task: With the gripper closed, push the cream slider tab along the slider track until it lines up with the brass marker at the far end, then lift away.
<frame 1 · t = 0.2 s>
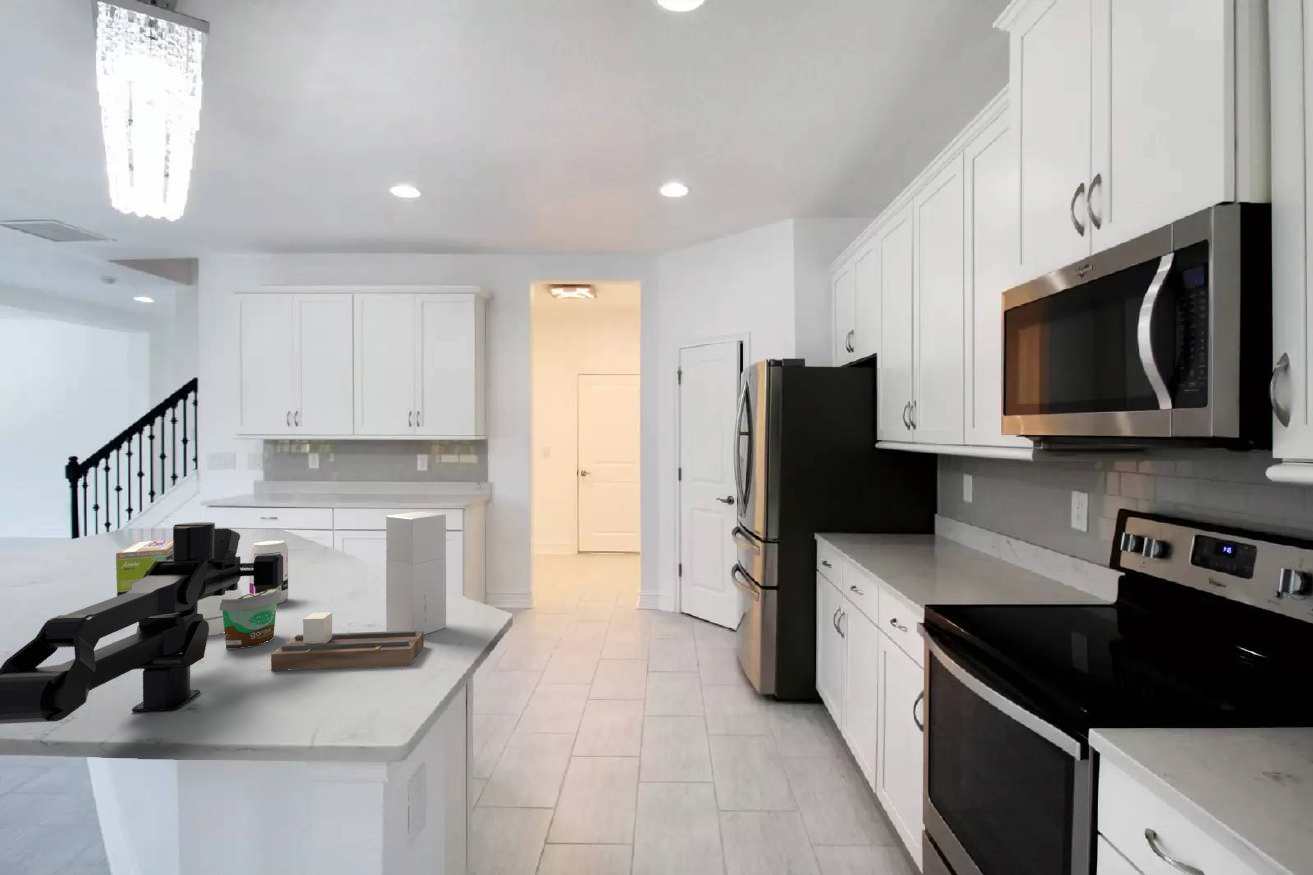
hand: (250, 564, 124), 16 cm above the counter, tool horizontal, fingers open, 9 cm apart
slider tab: (317, 628, 118), point 6 cm above the counter, slide at 6.0 cm
supplement can: (269, 602, 157), on the counter
slider track: (351, 658, 119), on the counter
tea box: (152, 604, 156), on the counter
food container: (258, 642, 128), on the counter
tall white carton: (416, 630, 136), on the counter
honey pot: (210, 628, 137), on the counter
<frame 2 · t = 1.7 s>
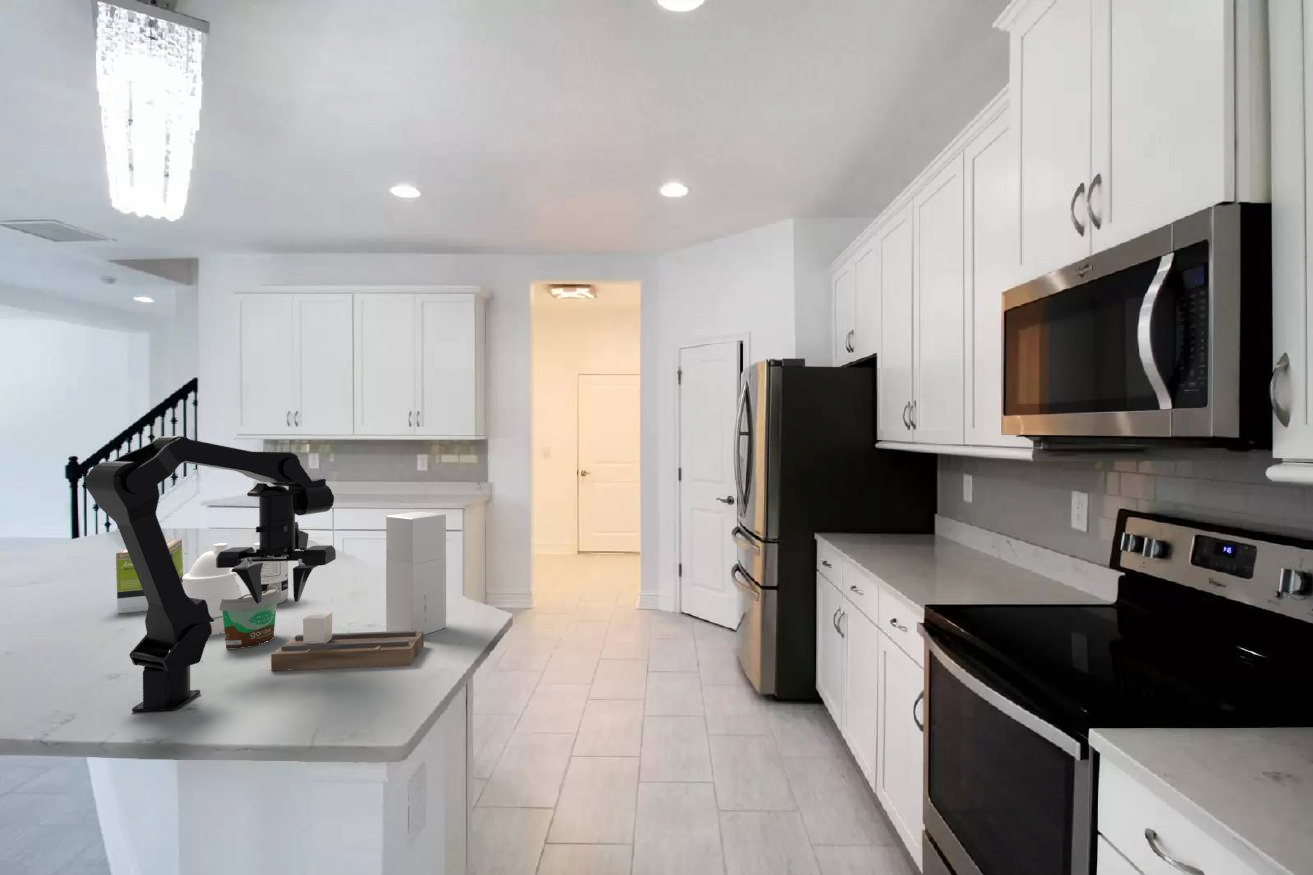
hand: (278, 602, 117), 11 cm above the counter, tool pointing down, fingers open, 6 cm apart
nothing on the counter moved.
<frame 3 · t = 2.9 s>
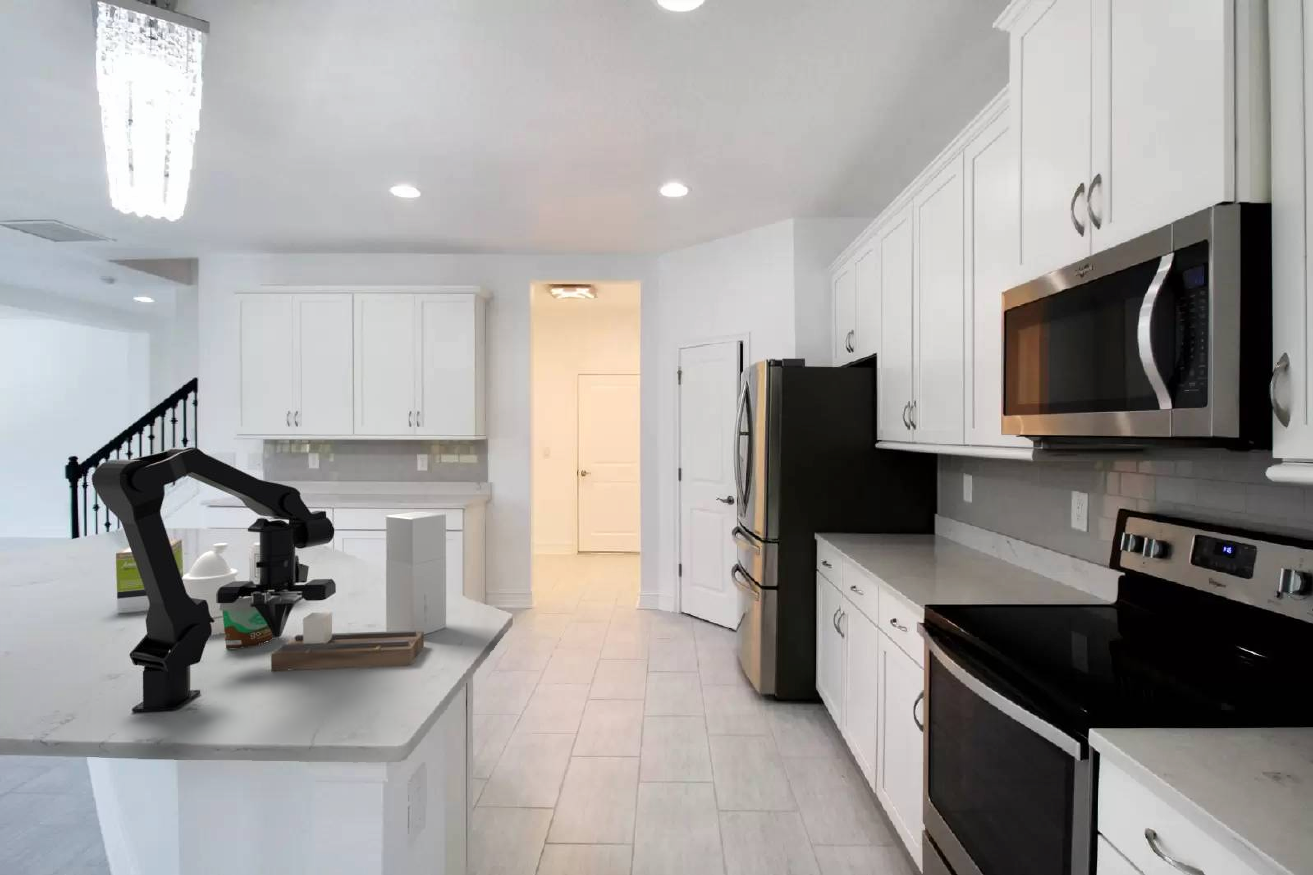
hand: (277, 636, 117), 5 cm above the counter, tool pointing down, fingers closed
nothing on the counter moved.
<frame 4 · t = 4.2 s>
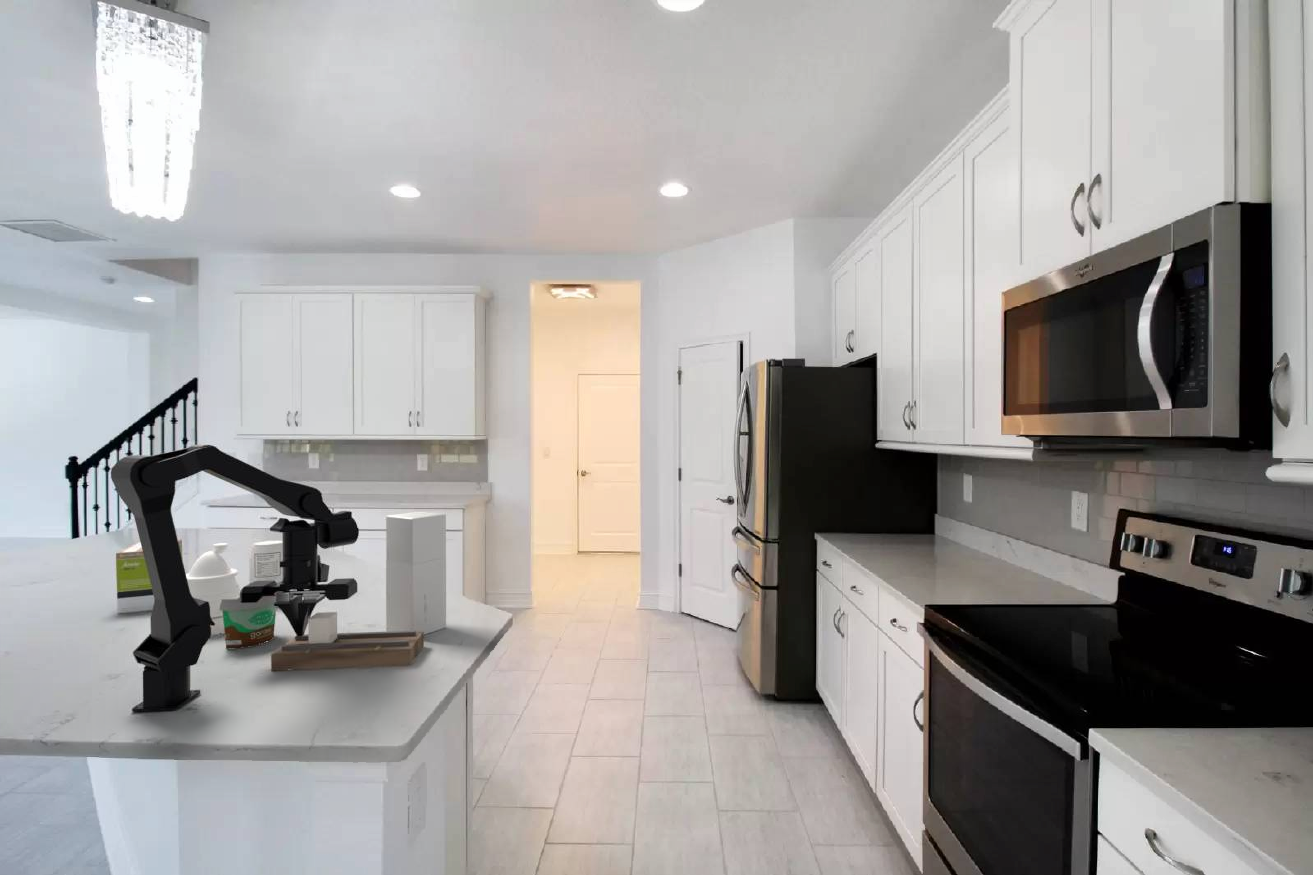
hand: (300, 635, 118), 5 cm above the counter, tool pointing down, fingers closed
slider tab: (323, 628, 118), point 6 cm above the counter, slide at 5.1 cm, touching gripper
everything else where it was.
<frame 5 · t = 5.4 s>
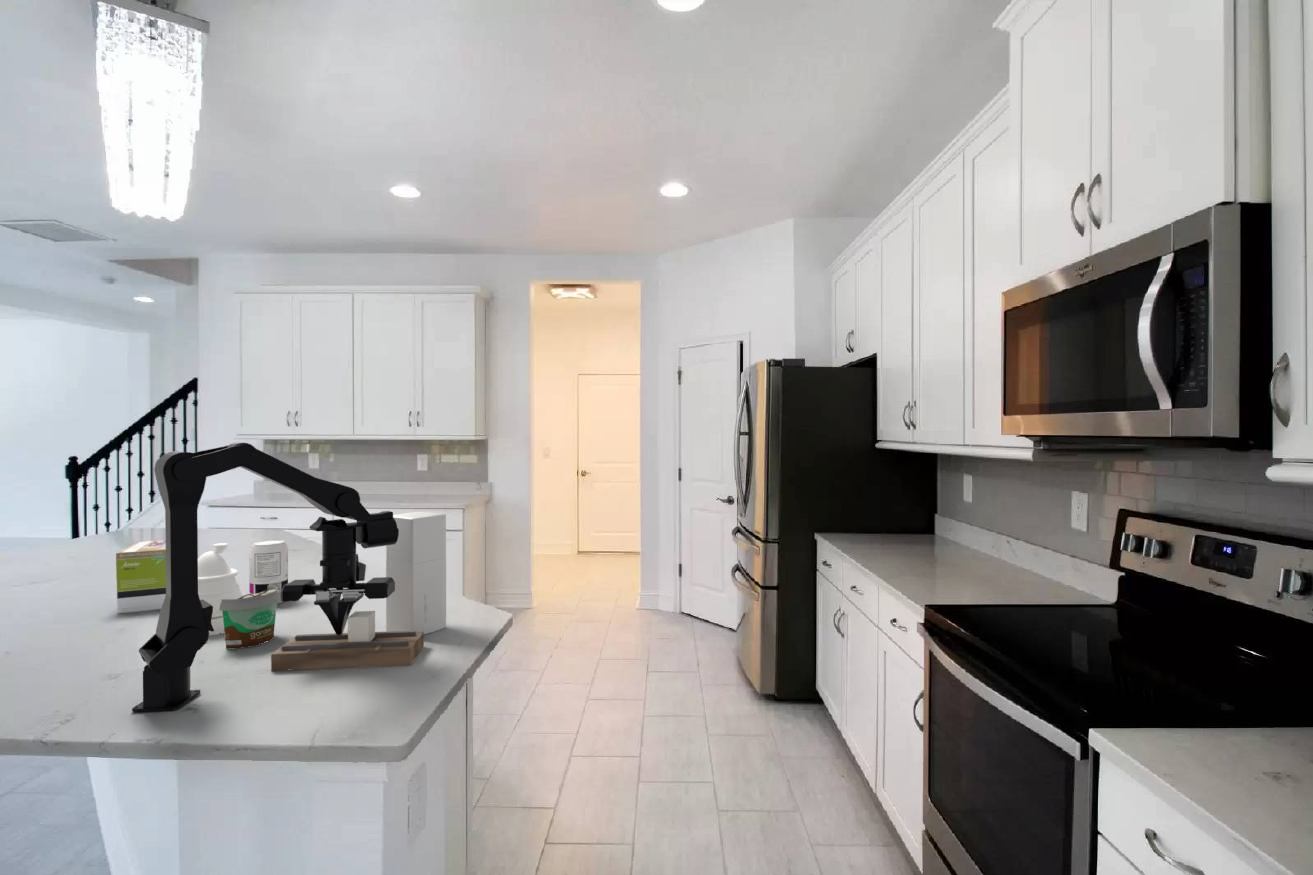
hand: (339, 634, 119), 5 cm above the counter, tool pointing down, fingers closed
slider tab: (361, 627, 119), point 6 cm above the counter, slide at -1.9 cm, touching gripper
everything else where it was.
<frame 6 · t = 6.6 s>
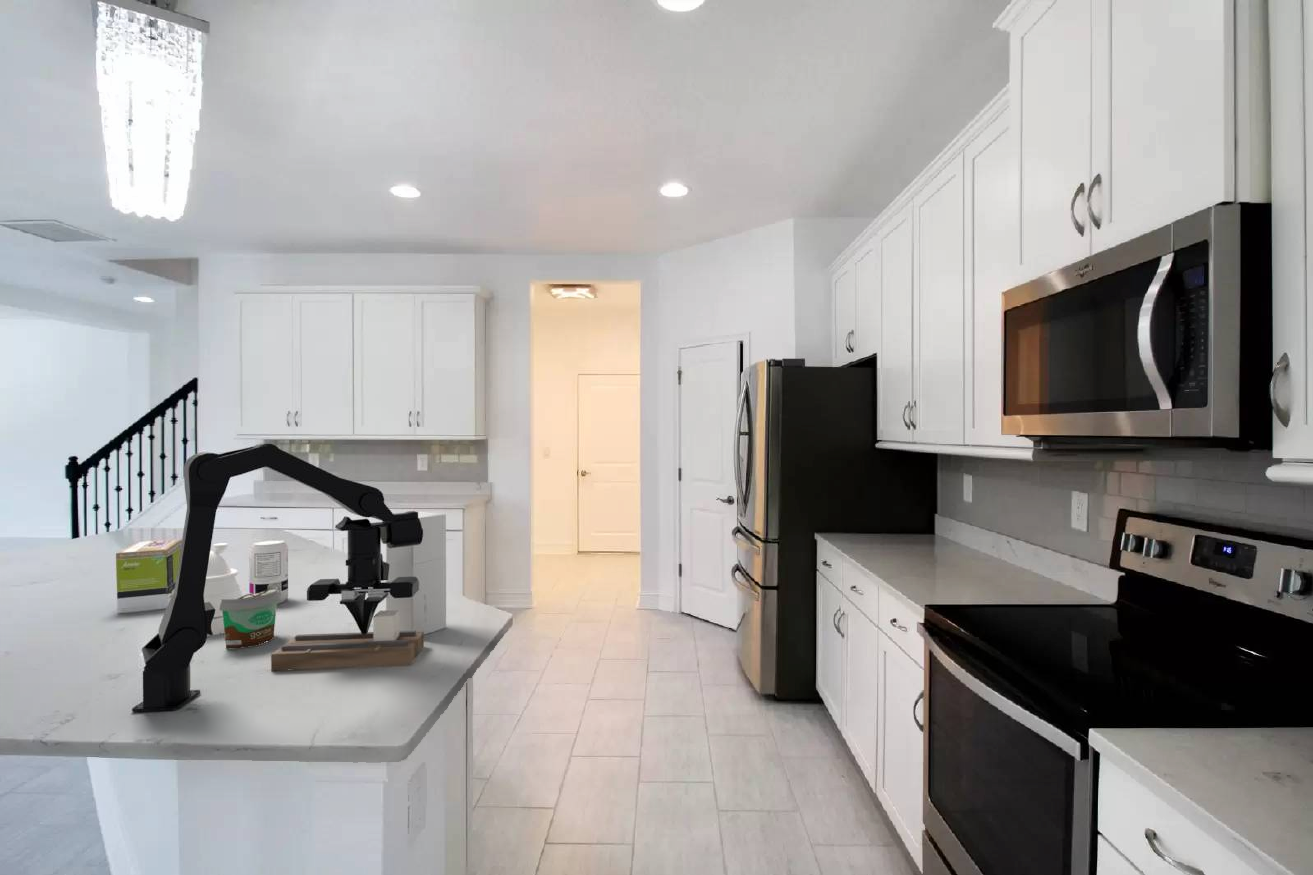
hand: (364, 633, 120), 5 cm above the counter, tool pointing down, fingers closed
slider tab: (386, 626, 120), point 6 cm above the counter, slide at -6.4 cm, touching gripper
everything else where it was.
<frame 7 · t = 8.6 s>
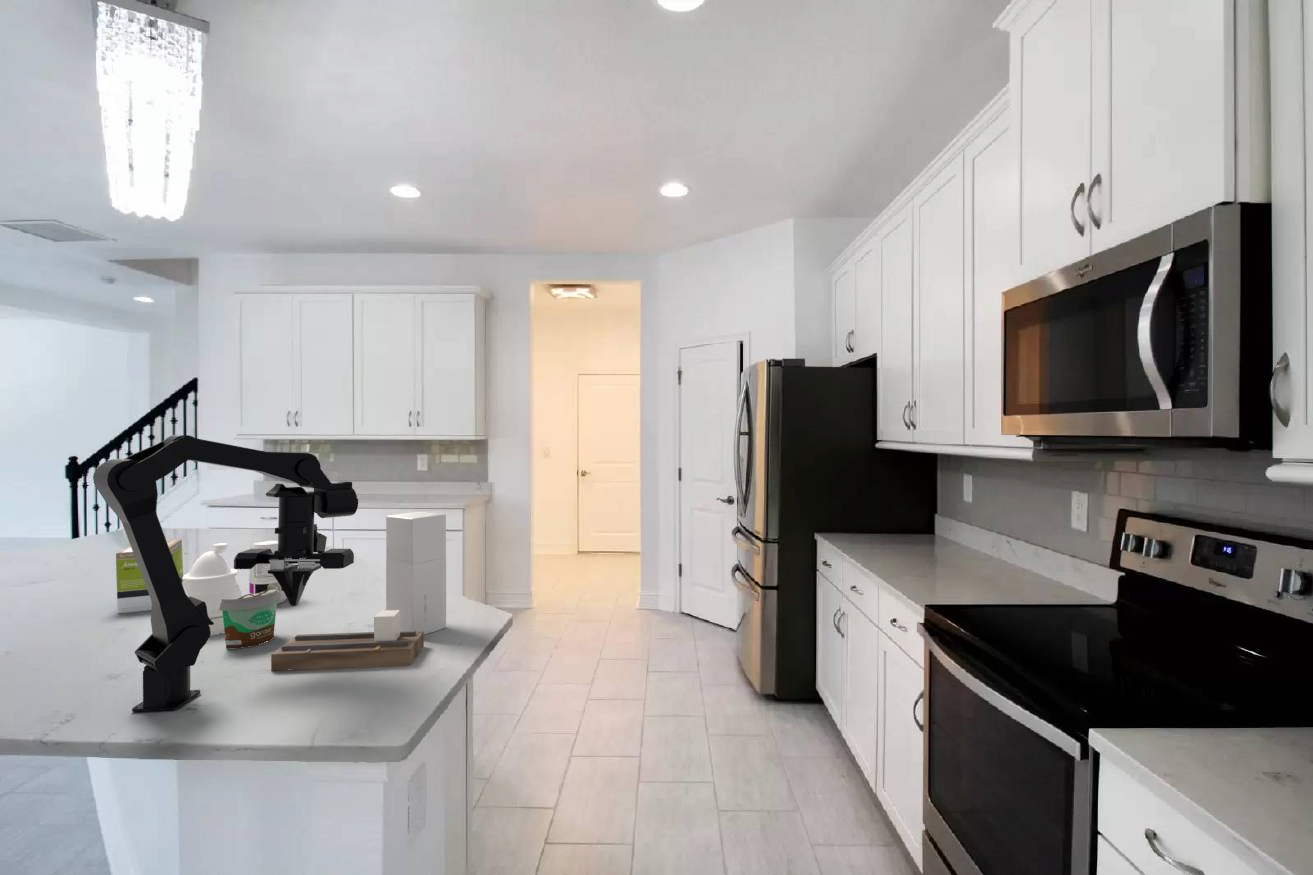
hand: (294, 605, 115), 11 cm above the counter, tool pointing down, fingers closed
slider tab: (387, 626, 120), point 6 cm above the counter, slide at -6.5 cm
everything else where it was.
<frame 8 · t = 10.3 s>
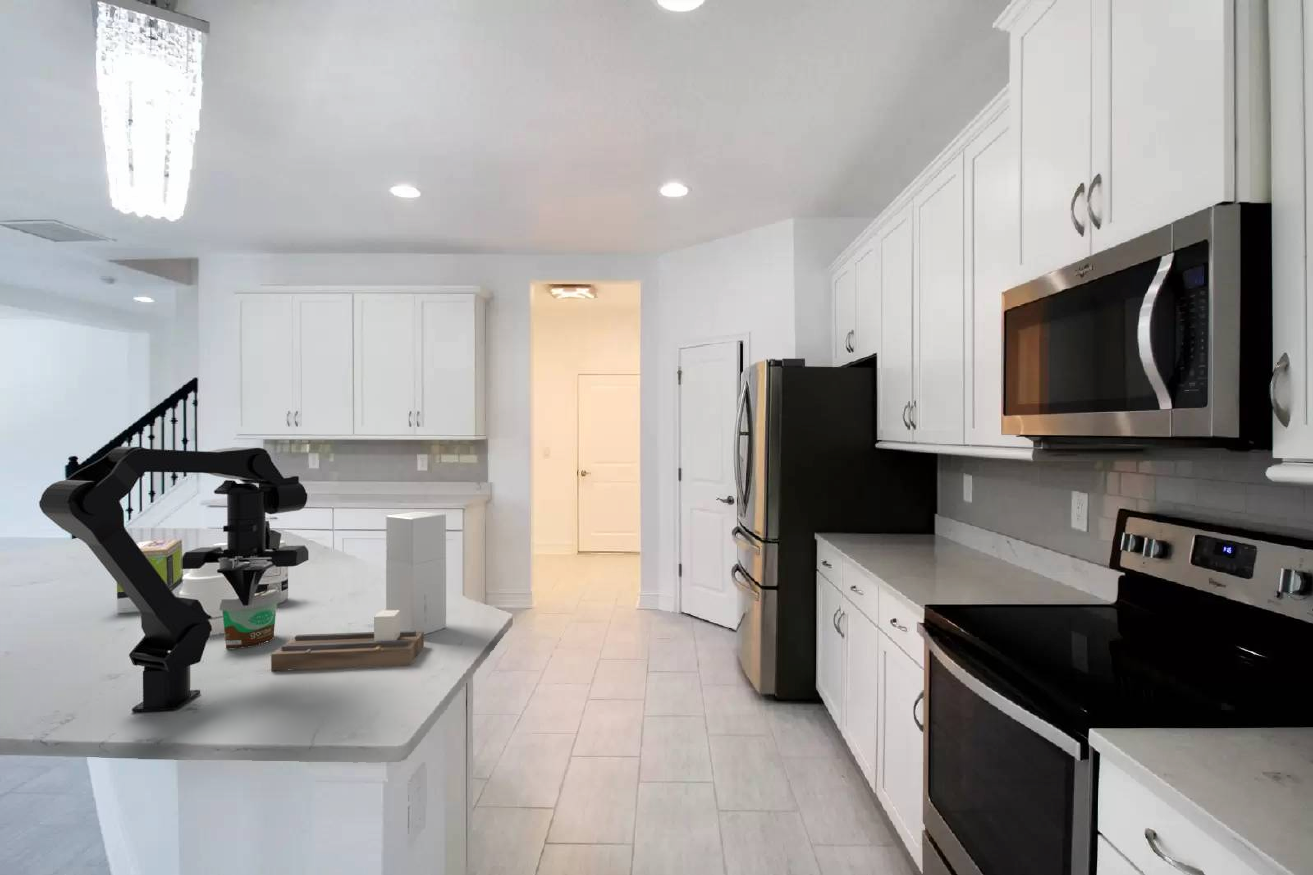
hand: (247, 605, 112), 12 cm above the counter, tool pointing down, fingers closed
nothing on the counter moved.
at the end: slider tab slide at -6.5 cm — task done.
